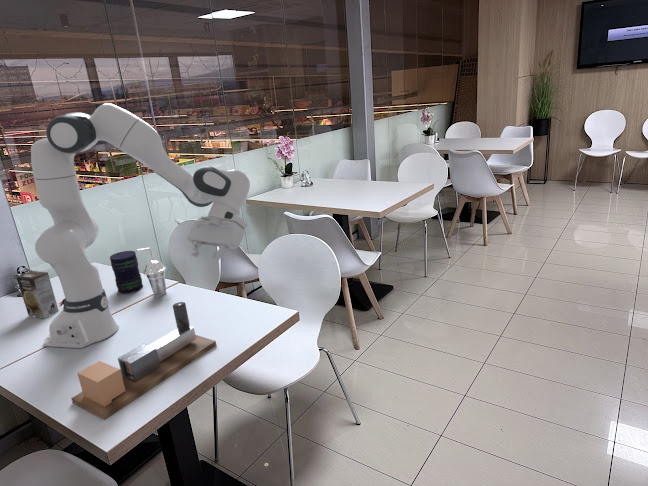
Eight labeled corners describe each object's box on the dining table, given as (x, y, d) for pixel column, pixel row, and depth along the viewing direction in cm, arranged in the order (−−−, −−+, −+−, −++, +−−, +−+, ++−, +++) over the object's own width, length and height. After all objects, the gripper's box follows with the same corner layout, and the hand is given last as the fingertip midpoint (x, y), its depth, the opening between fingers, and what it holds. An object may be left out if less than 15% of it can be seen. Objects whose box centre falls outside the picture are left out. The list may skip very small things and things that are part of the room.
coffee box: (27, 316, 172) (14, 276, 167) (43, 308, 177) (31, 270, 172) (44, 319, 168) (32, 278, 163) (60, 311, 174) (48, 271, 169)
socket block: (105, 383, 122) (99, 360, 120) (126, 392, 117) (119, 369, 115) (84, 396, 117) (77, 372, 115) (104, 406, 112) (97, 382, 110)
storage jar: (147, 287, 189) (140, 253, 184) (124, 296, 182) (116, 260, 178) (136, 282, 195) (128, 249, 191) (113, 290, 189) (105, 256, 184)
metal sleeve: (147, 361, 130) (143, 343, 129) (160, 366, 127) (156, 348, 125) (122, 377, 124) (117, 358, 122) (135, 382, 121) (130, 363, 119)
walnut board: (185, 335, 146) (184, 331, 146) (216, 345, 139) (215, 340, 138) (72, 403, 117) (71, 398, 117) (104, 419, 110) (102, 414, 109)
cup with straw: (171, 295, 178) (160, 247, 172) (146, 300, 176) (135, 251, 170) (171, 287, 186) (161, 240, 180) (148, 292, 184) (137, 244, 178)
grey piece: (187, 336, 141) (179, 300, 137) (196, 339, 138) (188, 303, 135) (126, 372, 124) (116, 333, 120) (136, 376, 122) (126, 336, 118)
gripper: (193, 211, 148) (175, 249, 144) (239, 215, 137) (221, 256, 133) (205, 220, 153) (188, 258, 149) (251, 225, 142) (234, 265, 138)
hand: (204, 257), depth 141 cm, fingers open, 8 cm apart
